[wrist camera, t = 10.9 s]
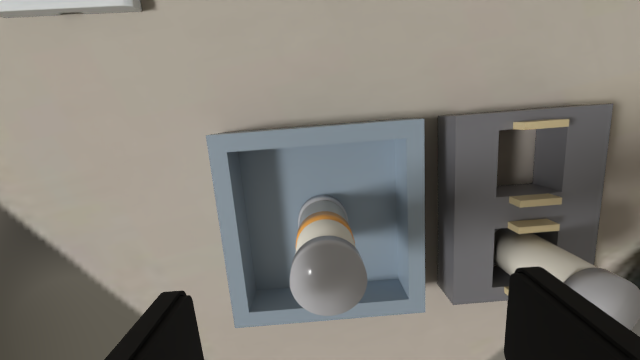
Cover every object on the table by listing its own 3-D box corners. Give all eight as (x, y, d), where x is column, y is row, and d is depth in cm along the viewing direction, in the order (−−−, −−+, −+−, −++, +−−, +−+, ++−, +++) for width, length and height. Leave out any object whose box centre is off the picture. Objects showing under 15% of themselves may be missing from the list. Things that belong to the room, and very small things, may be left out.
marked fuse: (345, 192, 20) (365, 241, 12) (347, 238, 21) (369, 312, 13) (296, 196, 20) (286, 248, 12) (301, 241, 21) (293, 318, 13)
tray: (407, 118, 20) (424, 118, 17) (410, 286, 22) (425, 312, 19) (222, 132, 19) (205, 135, 17) (245, 299, 22) (235, 328, 19)
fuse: (524, 217, 21) (648, 275, 13) (521, 259, 22) (638, 338, 14) (478, 220, 21) (576, 281, 13) (477, 262, 22) (569, 344, 14)
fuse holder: (575, 105, 20) (631, 102, 16) (559, 273, 22) (605, 302, 19) (438, 116, 20) (464, 115, 16) (437, 284, 22) (460, 314, 19)
